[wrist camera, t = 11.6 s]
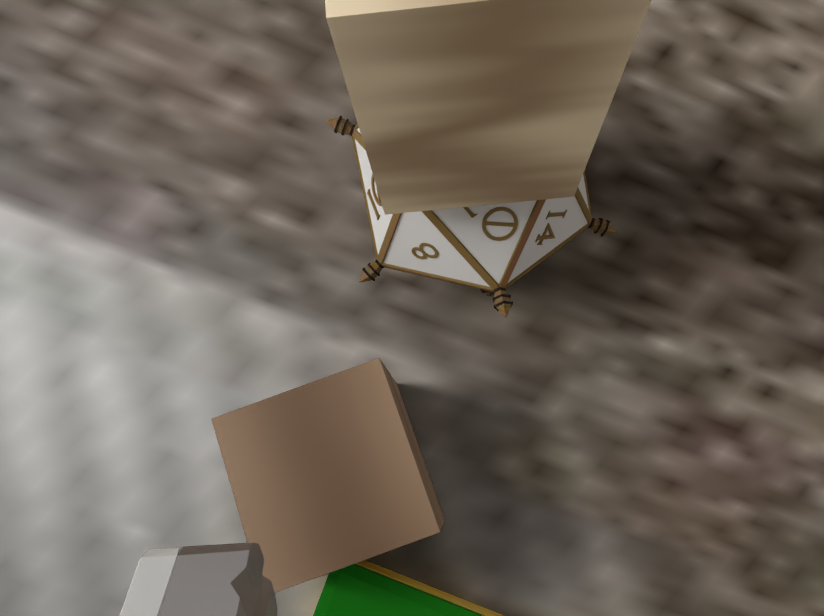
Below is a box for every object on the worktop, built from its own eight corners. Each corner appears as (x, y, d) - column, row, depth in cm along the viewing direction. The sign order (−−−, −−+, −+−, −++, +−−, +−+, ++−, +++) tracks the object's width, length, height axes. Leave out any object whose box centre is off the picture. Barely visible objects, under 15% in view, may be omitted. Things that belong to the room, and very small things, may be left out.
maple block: (384, 214, 20) (325, 17, 12) (372, 45, 22) (310, -251, 13) (573, 196, 20) (658, -18, 11) (551, 26, 21) (613, -288, 13)
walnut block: (307, 570, 26) (263, 597, 21) (264, 431, 27) (211, 418, 22) (444, 520, 26) (440, 532, 21) (396, 383, 28) (379, 357, 22)
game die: (518, 242, 32) (726, 225, 24) (363, 355, 28) (543, 382, 20) (425, 38, 30) (620, -65, 21) (241, 132, 26) (387, 55, 17)
